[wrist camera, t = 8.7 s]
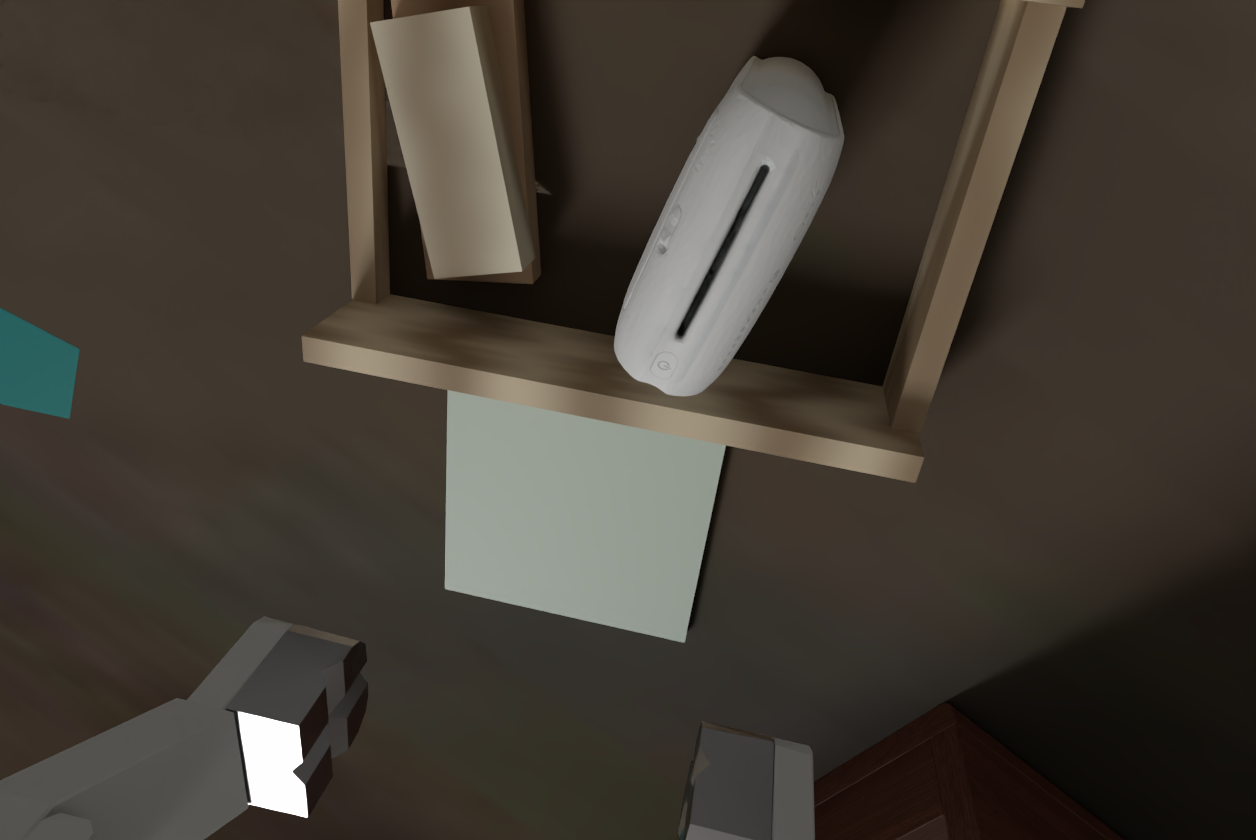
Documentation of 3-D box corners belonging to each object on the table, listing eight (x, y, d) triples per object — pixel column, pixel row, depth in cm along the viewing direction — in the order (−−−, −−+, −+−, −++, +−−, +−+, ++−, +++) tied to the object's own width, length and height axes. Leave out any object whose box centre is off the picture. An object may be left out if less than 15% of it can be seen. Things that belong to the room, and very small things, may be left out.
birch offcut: (486, 5, 32) (469, 6, 30) (535, 257, 36) (522, 271, 34) (392, 20, 32) (369, 22, 31) (451, 264, 37) (434, 278, 35)
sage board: (731, 418, 39) (730, 426, 39) (686, 632, 46) (684, 642, 46) (454, 364, 41) (447, 370, 40) (450, 580, 48) (444, 588, 47)
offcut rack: (1047, -34, 29) (1102, -38, 24) (901, 414, 38) (917, 483, 33) (351, -127, 32) (262, -148, 26) (367, 312, 40) (303, 361, 35)
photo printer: (729, 308, 37) (701, 441, 26) (644, 266, 37) (579, 383, 26) (850, 85, 32) (876, 138, 21) (751, 35, 32) (727, 63, 21)
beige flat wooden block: (526, -21, 33) (511, -21, 31) (544, 270, 38) (532, 283, 37) (409, -19, 34) (388, -19, 32) (443, 266, 39) (427, 279, 37)
